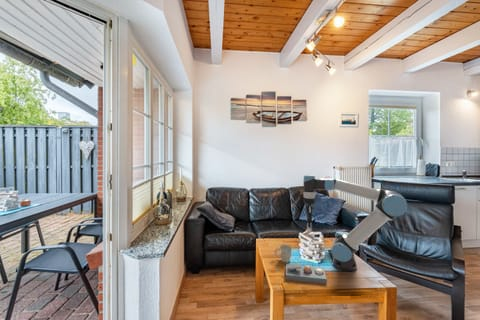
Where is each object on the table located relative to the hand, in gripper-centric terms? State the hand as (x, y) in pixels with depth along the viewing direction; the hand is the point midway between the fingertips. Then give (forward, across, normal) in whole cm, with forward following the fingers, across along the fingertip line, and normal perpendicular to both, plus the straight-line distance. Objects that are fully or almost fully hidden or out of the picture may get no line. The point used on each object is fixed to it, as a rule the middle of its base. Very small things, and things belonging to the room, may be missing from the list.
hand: (309, 231), depth 156 cm
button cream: (+23, +13, +5) cm, 27 cm away
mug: (+25, -6, -18) cm, 31 cm away
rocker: (+19, +13, -10) cm, 25 cm away
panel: (+24, +13, -4) cm, 28 cm away
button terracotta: (+22, +13, -2) cm, 25 cm away
